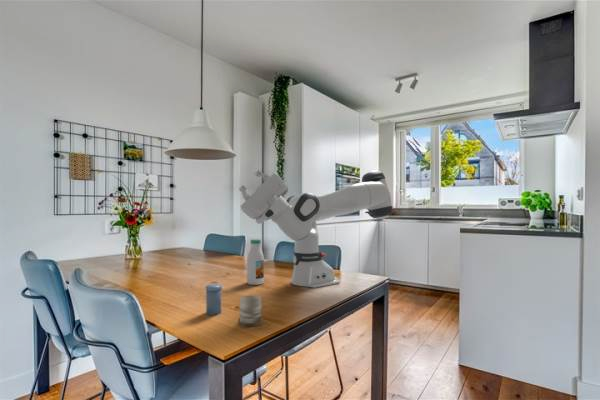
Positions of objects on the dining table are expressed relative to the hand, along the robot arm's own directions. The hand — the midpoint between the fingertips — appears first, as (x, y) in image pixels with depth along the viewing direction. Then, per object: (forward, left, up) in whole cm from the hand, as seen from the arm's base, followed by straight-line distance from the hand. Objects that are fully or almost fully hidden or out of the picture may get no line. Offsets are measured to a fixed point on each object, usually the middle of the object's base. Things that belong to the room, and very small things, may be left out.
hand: (248, 179), depth 111 cm
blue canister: (+13, +4, -45) cm, 47 cm away
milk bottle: (-9, -28, -46) cm, 54 cm away
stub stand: (+3, +17, -45) cm, 48 cm away
